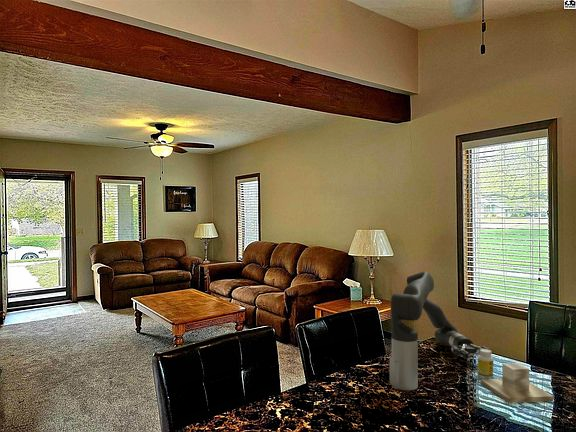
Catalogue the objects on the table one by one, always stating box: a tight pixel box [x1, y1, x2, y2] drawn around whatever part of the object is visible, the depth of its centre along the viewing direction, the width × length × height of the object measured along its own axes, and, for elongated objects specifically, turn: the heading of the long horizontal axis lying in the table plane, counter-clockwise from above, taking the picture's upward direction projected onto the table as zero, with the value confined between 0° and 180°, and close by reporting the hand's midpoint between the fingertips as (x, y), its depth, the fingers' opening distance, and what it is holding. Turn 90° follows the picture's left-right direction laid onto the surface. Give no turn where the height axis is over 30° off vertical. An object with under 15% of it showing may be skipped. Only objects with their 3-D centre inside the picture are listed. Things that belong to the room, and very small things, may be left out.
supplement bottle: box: [477, 349, 494, 379], centre depth 162 cm, size 5×5×10 cm
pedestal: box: [480, 362, 554, 404], centre depth 147 cm, size 16×16×9 cm
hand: (478, 355), depth 167 cm, fingers open, 8 cm apart
